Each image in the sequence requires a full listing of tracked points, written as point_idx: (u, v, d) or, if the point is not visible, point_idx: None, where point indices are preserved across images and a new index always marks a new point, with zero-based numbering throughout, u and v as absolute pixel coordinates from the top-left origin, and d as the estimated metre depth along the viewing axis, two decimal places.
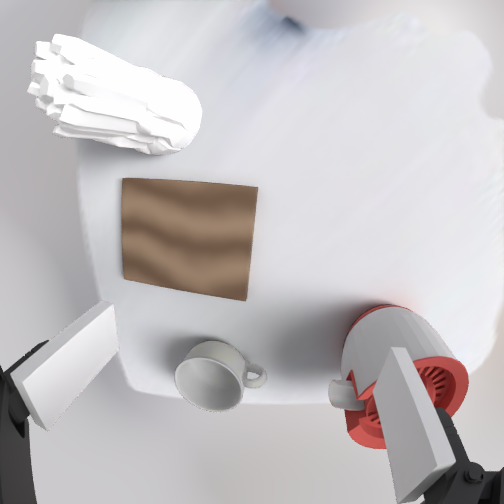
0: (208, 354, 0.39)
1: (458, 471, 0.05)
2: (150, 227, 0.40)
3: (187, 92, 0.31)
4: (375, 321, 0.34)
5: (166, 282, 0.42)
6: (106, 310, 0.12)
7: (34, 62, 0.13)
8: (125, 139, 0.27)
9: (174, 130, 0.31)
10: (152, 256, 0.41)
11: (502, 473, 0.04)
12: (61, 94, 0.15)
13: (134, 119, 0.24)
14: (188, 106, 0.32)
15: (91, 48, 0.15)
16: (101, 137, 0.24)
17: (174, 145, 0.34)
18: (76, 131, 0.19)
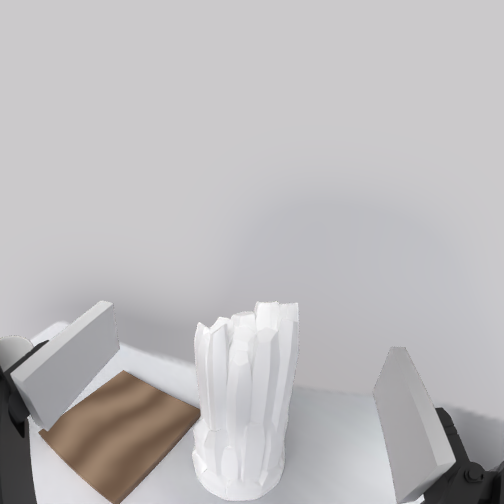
0: None
1: (458, 471, 0.05)
2: (142, 410, 0.35)
3: (245, 488, 0.22)
4: None
5: (94, 396, 0.36)
6: (106, 310, 0.12)
7: (273, 302, 0.21)
8: None
9: (202, 460, 0.24)
10: (120, 399, 0.36)
11: (502, 473, 0.04)
12: (221, 327, 0.20)
13: (203, 413, 0.22)
14: (226, 484, 0.23)
15: (267, 366, 0.19)
16: None
17: None
18: None
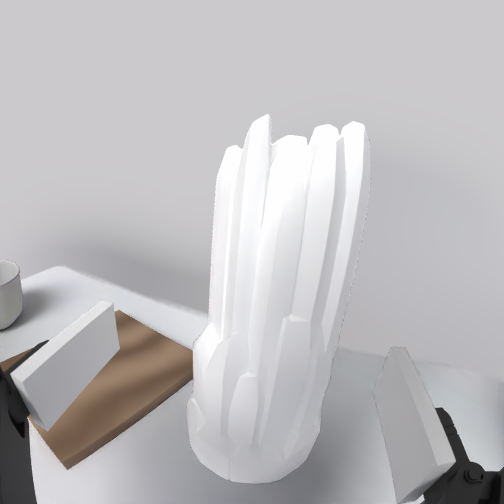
0: None
1: (458, 471, 0.05)
2: (132, 352, 0.29)
3: (260, 460, 0.16)
4: None
5: None
6: (106, 310, 0.12)
7: (331, 126, 0.14)
8: None
9: (200, 410, 0.18)
10: None
11: (502, 473, 0.04)
12: None
13: (213, 311, 0.16)
14: (232, 451, 0.16)
15: (330, 184, 0.12)
16: None
17: (187, 410, 0.20)
18: None
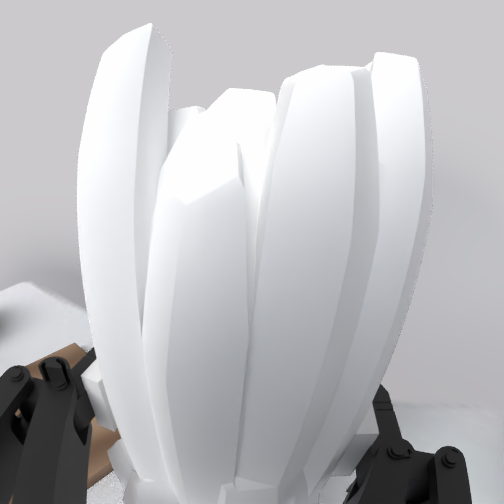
0: None
1: (380, 448, 0.06)
2: None
3: None
4: None
5: None
6: None
7: None
8: None
9: None
10: None
11: (435, 459, 0.05)
12: None
13: (117, 427, 0.07)
14: None
15: (338, 210, 0.03)
16: None
17: None
18: None
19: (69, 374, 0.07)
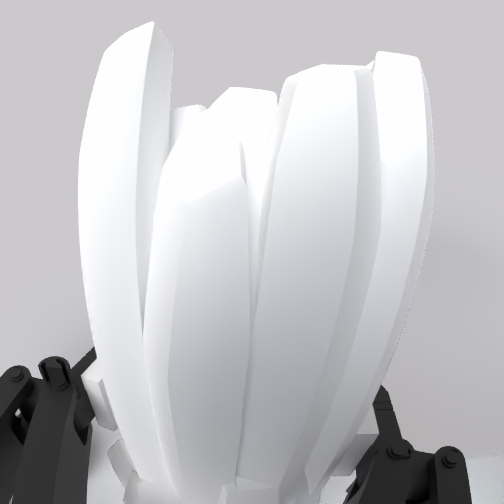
0: None
1: (380, 448, 0.06)
2: None
3: None
4: None
5: None
6: None
7: None
8: None
9: None
10: None
11: (435, 459, 0.05)
12: None
13: (118, 427, 0.07)
14: None
15: (340, 208, 0.03)
16: None
17: None
18: None
19: (69, 374, 0.07)
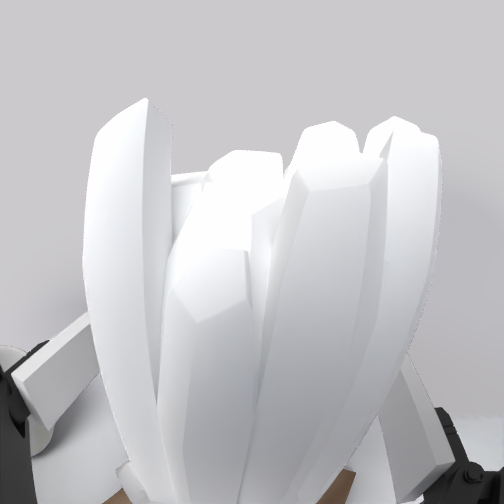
0: None
1: (457, 471, 0.05)
2: None
3: None
4: None
5: None
6: None
7: (342, 127, 0.06)
8: None
9: None
10: None
11: (501, 473, 0.04)
12: None
13: (127, 454, 0.08)
14: None
15: (338, 331, 0.04)
16: None
17: None
18: None
19: None
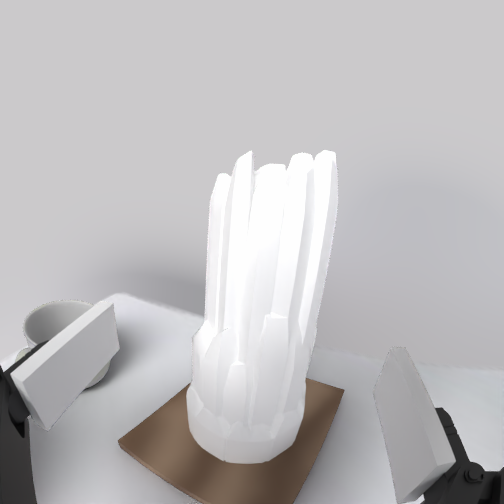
0: None
1: (458, 471, 0.05)
2: None
3: (251, 439, 0.19)
4: None
5: None
6: (106, 310, 0.12)
7: (306, 154, 0.18)
8: None
9: (198, 397, 0.21)
10: None
11: (502, 473, 0.04)
12: None
13: (208, 310, 0.19)
14: (226, 432, 0.19)
15: (301, 208, 0.15)
16: None
17: (186, 398, 0.23)
18: None
19: None
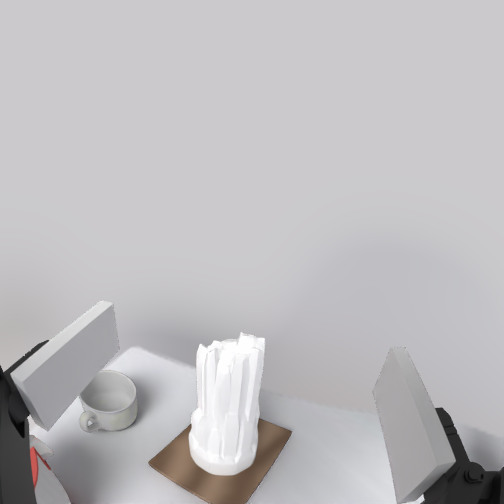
0: (128, 410, 0.39)
1: (458, 471, 0.05)
2: None
3: (224, 463, 0.33)
4: None
5: None
6: (106, 310, 0.12)
7: (249, 335, 0.31)
8: None
9: (195, 440, 0.35)
10: None
11: (502, 473, 0.04)
12: (214, 348, 0.31)
13: (199, 404, 0.33)
14: (210, 459, 0.33)
15: (240, 376, 0.29)
16: None
17: None
18: None
19: None
